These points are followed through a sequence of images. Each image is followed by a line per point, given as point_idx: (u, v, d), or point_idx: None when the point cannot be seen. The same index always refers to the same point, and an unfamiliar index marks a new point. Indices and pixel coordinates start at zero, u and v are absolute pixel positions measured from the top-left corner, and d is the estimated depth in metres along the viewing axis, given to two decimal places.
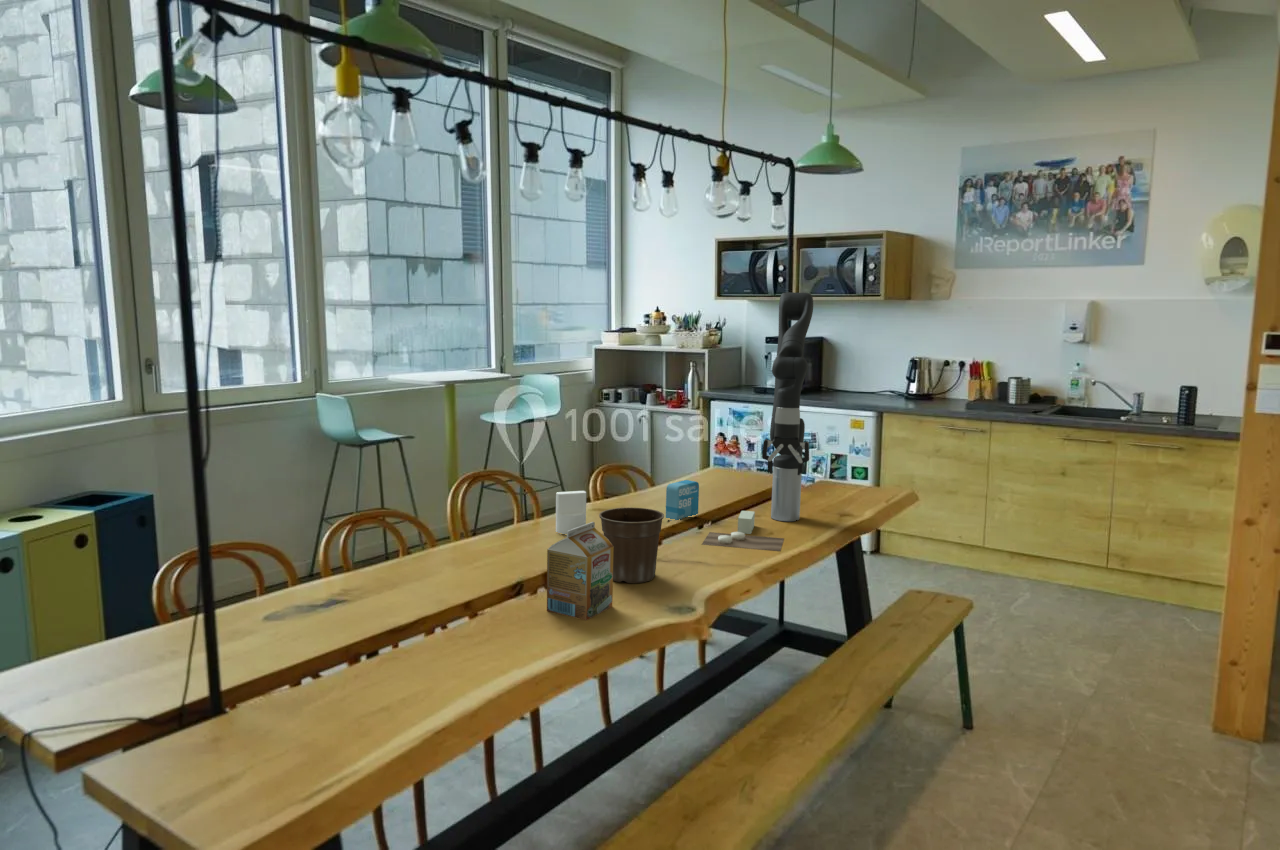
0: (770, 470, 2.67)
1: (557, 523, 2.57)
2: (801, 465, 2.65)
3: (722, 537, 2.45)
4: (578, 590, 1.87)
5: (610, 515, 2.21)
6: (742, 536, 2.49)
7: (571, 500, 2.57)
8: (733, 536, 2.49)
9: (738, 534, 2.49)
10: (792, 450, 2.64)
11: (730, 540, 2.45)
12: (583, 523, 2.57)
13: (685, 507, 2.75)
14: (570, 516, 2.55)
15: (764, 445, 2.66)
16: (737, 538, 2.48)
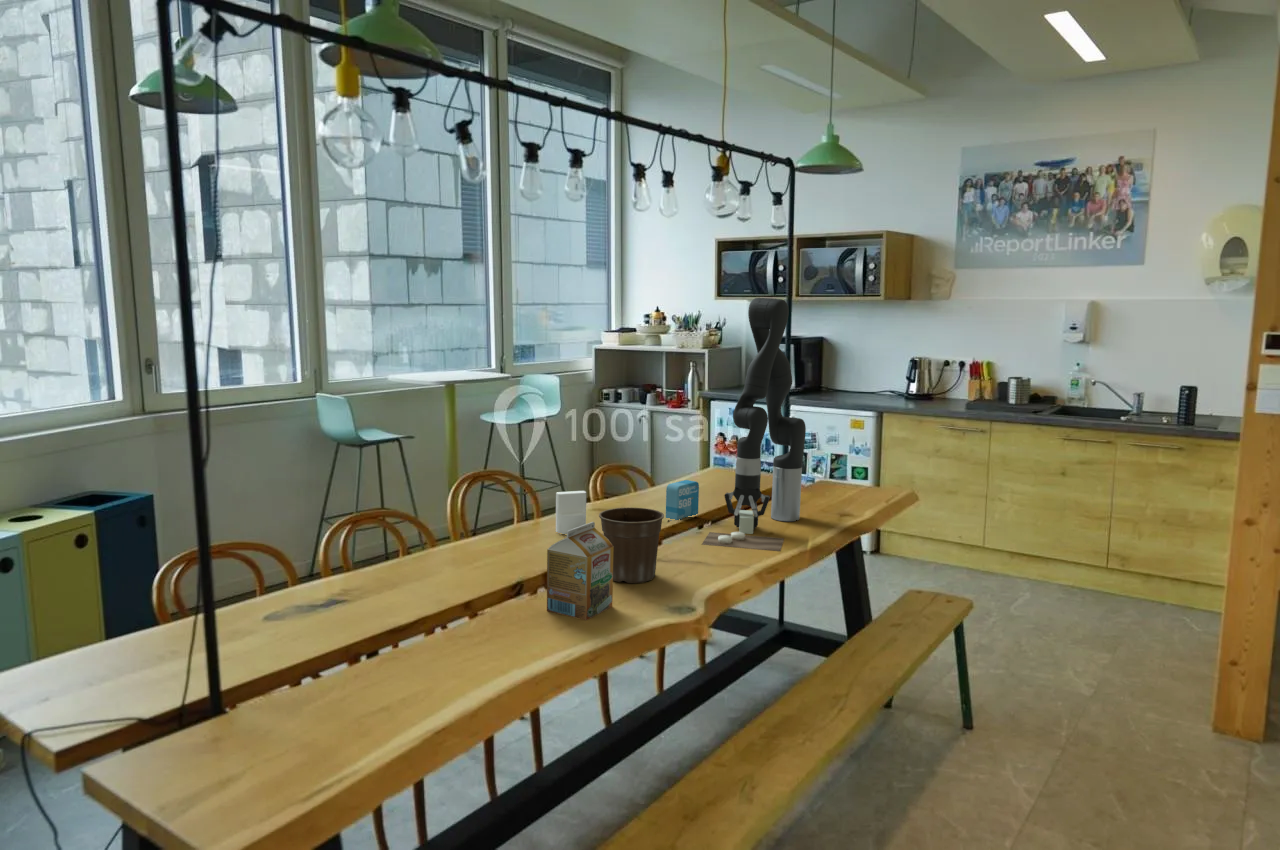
0: (737, 524, 2.60)
1: (557, 523, 2.57)
2: (756, 519, 2.59)
3: (722, 537, 2.45)
4: (578, 590, 1.87)
5: (610, 515, 2.21)
6: (742, 536, 2.49)
7: (571, 500, 2.57)
8: (733, 536, 2.49)
9: (738, 534, 2.49)
10: (751, 502, 2.58)
11: (730, 540, 2.45)
12: (583, 523, 2.57)
13: (685, 507, 2.75)
14: (570, 516, 2.55)
15: (726, 499, 2.60)
16: (737, 538, 2.48)
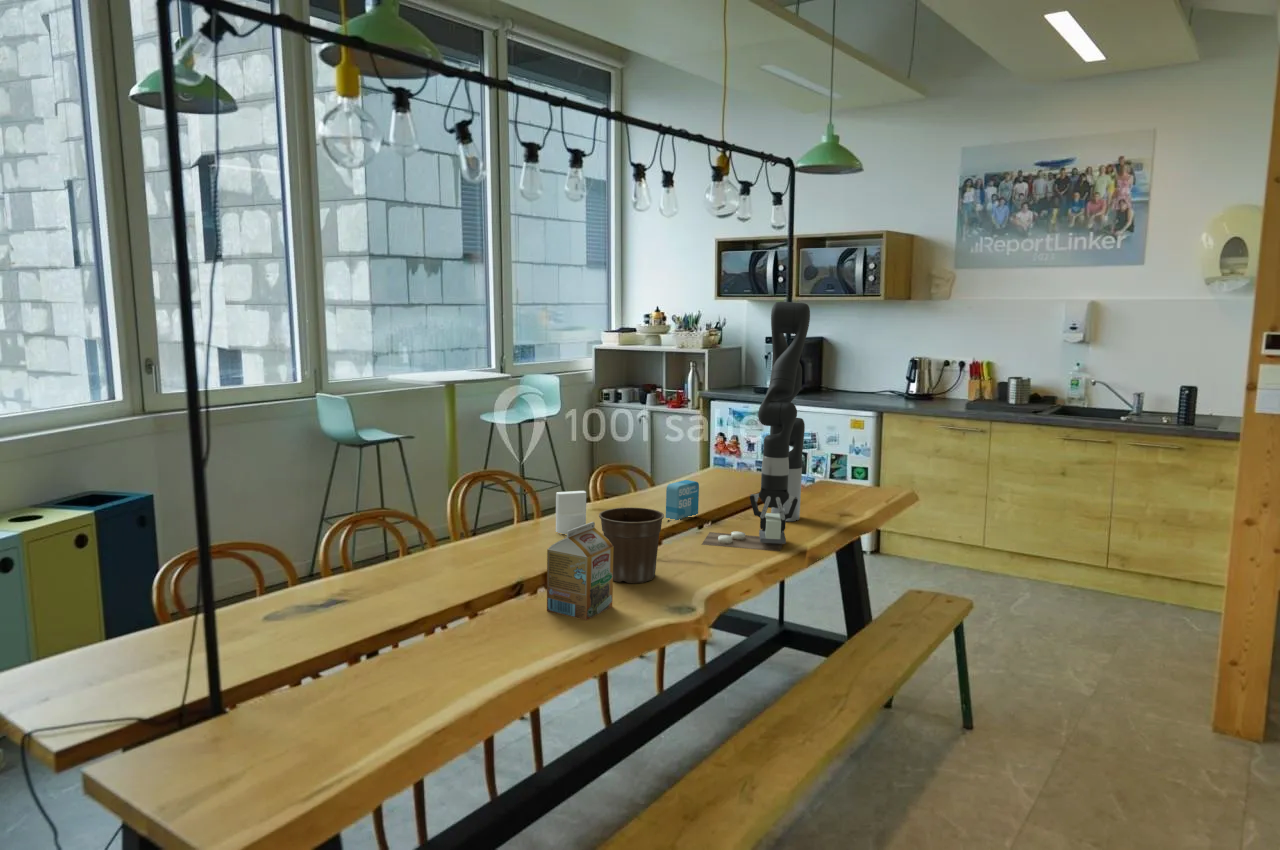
0: (763, 528, 2.44)
1: (557, 523, 2.57)
2: (784, 522, 2.43)
3: (722, 537, 2.45)
4: (578, 590, 1.87)
5: (610, 515, 2.21)
6: (744, 535, 2.49)
7: (571, 500, 2.57)
8: (736, 536, 2.48)
9: (740, 534, 2.49)
10: (778, 504, 2.42)
11: (730, 540, 2.45)
12: (583, 523, 2.57)
13: (685, 507, 2.75)
14: (570, 516, 2.55)
15: (752, 501, 2.44)
16: (740, 538, 2.48)
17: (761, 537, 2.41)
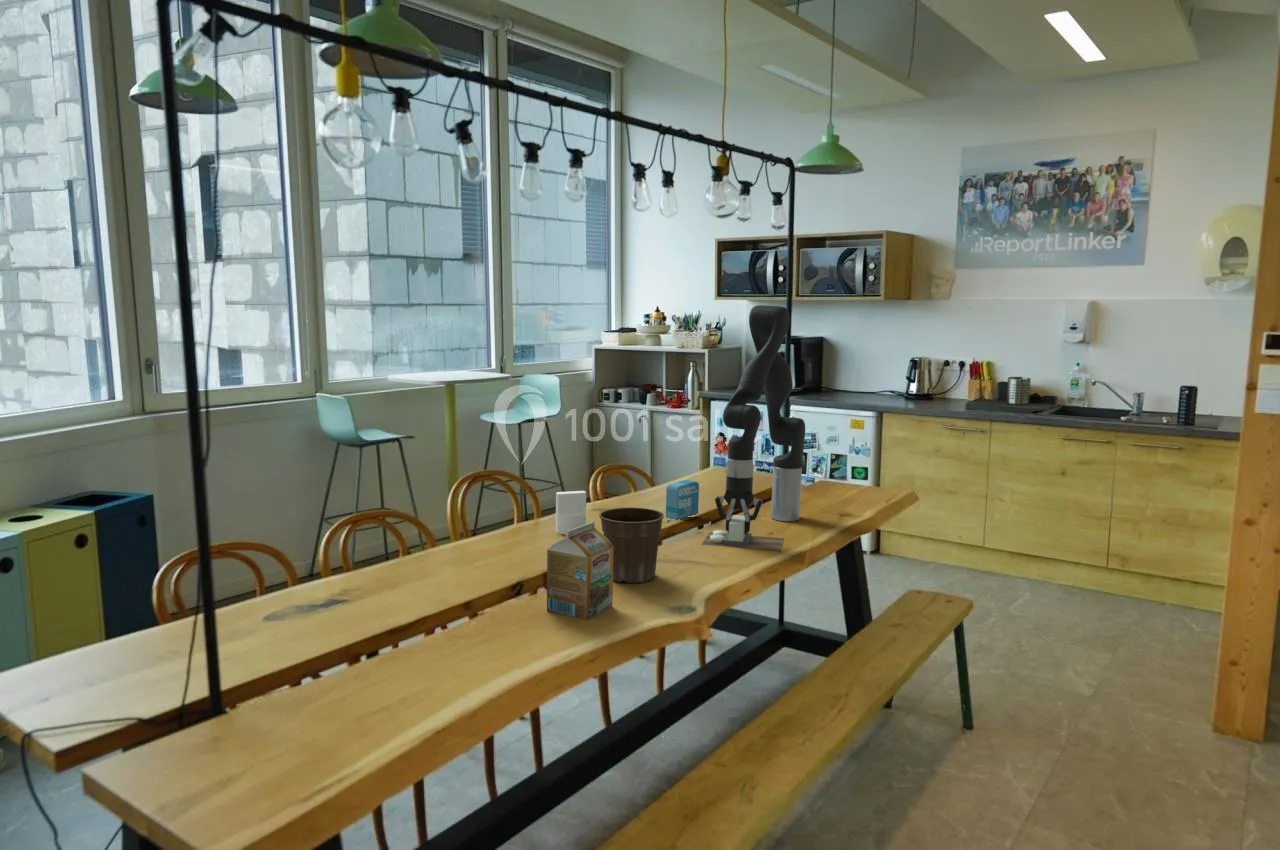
0: (728, 529, 2.47)
1: (557, 523, 2.57)
2: (748, 523, 2.46)
3: (714, 536, 2.46)
4: (578, 590, 1.87)
5: (610, 515, 2.21)
6: None
7: (571, 500, 2.57)
8: (723, 535, 2.50)
9: (723, 532, 2.51)
10: (743, 505, 2.44)
11: (722, 539, 2.45)
12: (583, 523, 2.57)
13: (685, 507, 2.75)
14: (570, 516, 2.55)
15: (717, 503, 2.46)
16: None
17: (724, 539, 2.44)
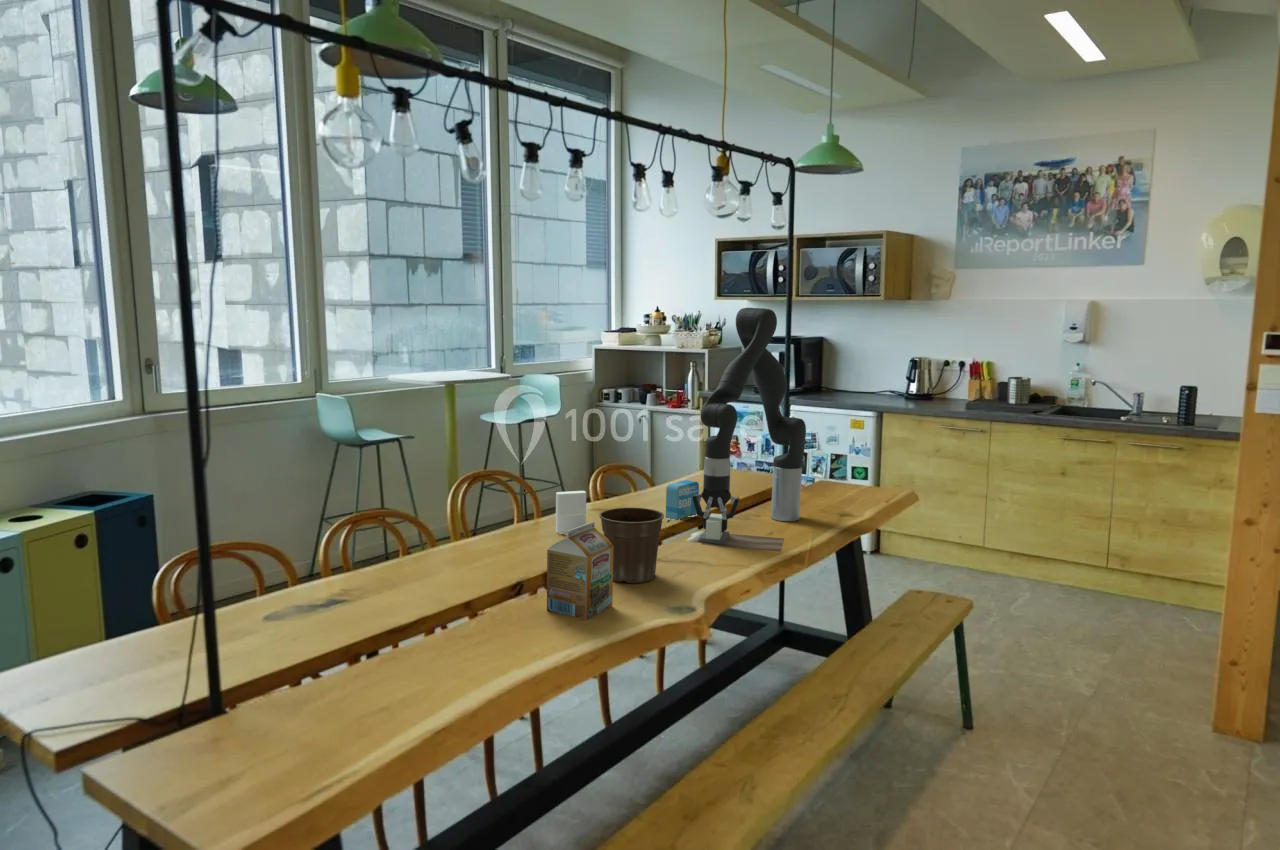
0: None
1: (557, 523, 2.57)
2: (725, 522, 2.47)
3: (690, 538, 2.47)
4: (578, 590, 1.87)
5: (610, 515, 2.21)
6: None
7: (571, 500, 2.57)
8: (700, 535, 2.51)
9: (700, 532, 2.53)
10: (720, 504, 2.46)
11: (698, 537, 2.46)
12: (583, 523, 2.57)
13: (685, 507, 2.75)
14: (570, 516, 2.55)
15: (694, 502, 2.48)
16: None
17: (702, 537, 2.46)
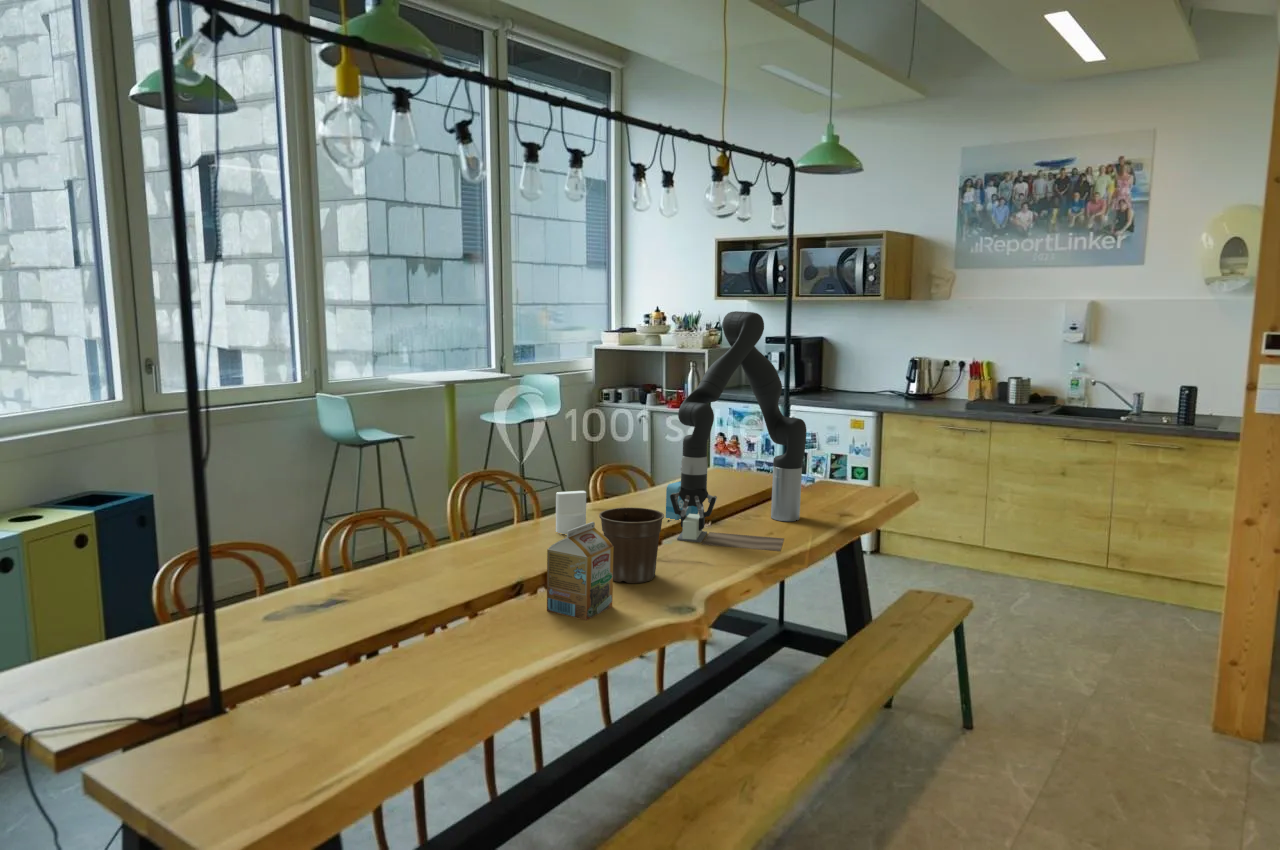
0: None
1: (557, 523, 2.57)
2: (702, 520, 2.49)
3: None
4: (578, 590, 1.87)
5: (610, 515, 2.21)
6: None
7: (571, 500, 2.57)
8: None
9: None
10: (697, 502, 2.47)
11: None
12: (583, 523, 2.57)
13: None
14: (570, 516, 2.55)
15: (672, 500, 2.50)
16: None
17: (678, 537, 2.48)
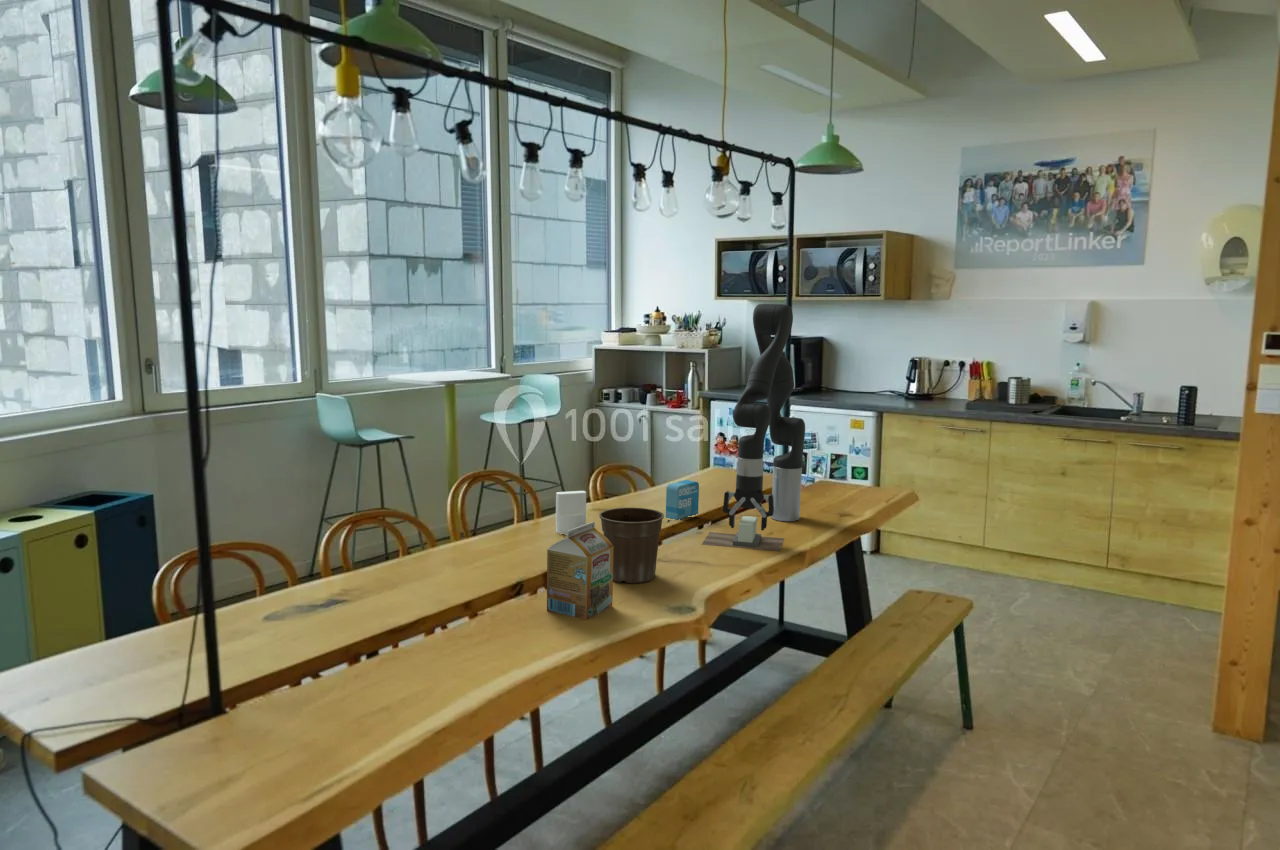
0: (732, 524, 2.46)
1: (557, 523, 2.57)
2: (765, 519, 2.44)
3: None
4: (578, 590, 1.87)
5: (610, 515, 2.21)
6: None
7: (571, 500, 2.57)
8: None
9: None
10: (755, 504, 2.44)
11: None
12: (583, 523, 2.57)
13: (685, 507, 2.75)
14: (570, 516, 2.55)
15: (725, 498, 2.46)
16: None
17: (734, 540, 2.44)
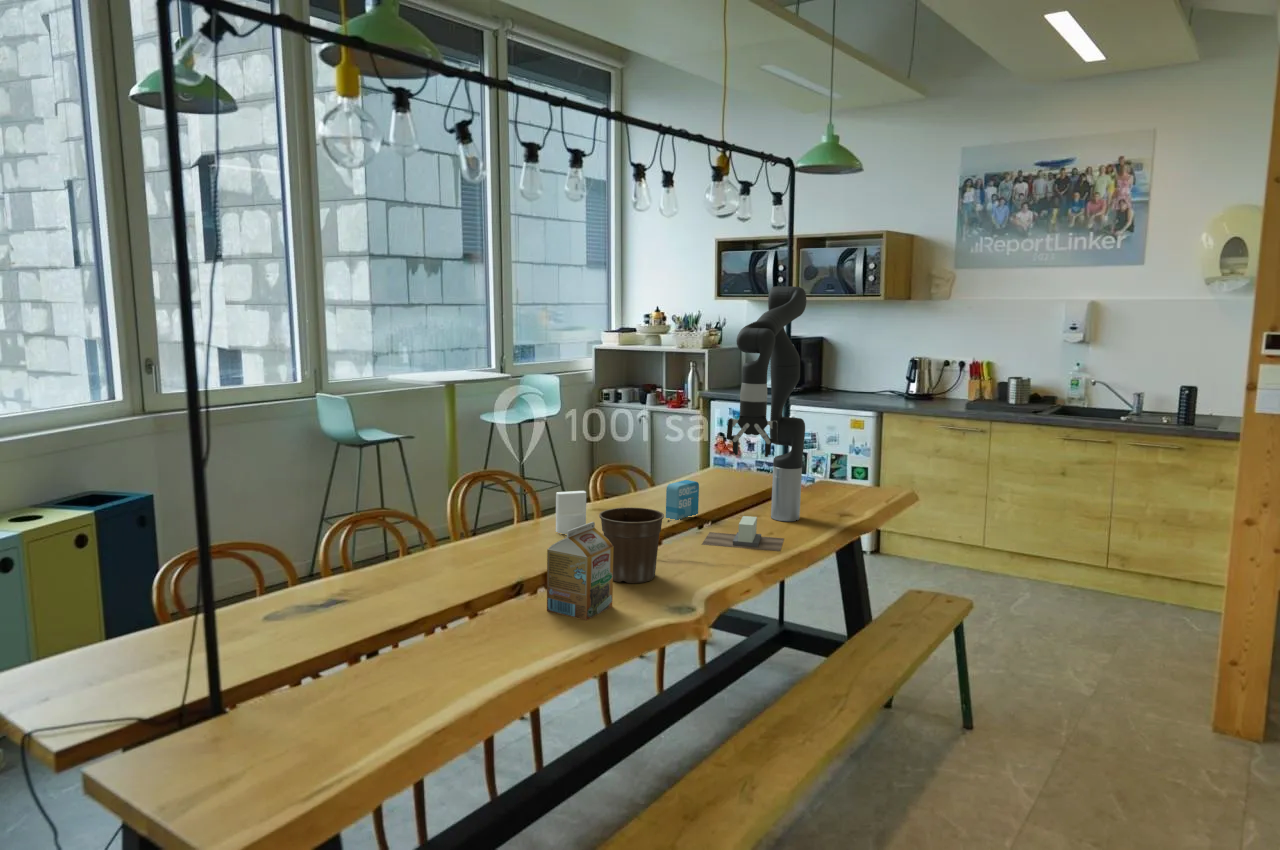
0: (735, 451, 2.46)
1: (557, 523, 2.57)
2: (769, 446, 2.44)
3: None
4: (578, 590, 1.87)
5: (610, 515, 2.21)
6: None
7: (571, 500, 2.57)
8: None
9: None
10: (759, 430, 2.43)
11: None
12: (583, 523, 2.57)
13: (685, 507, 2.75)
14: (570, 516, 2.55)
15: (729, 424, 2.45)
16: None
17: (734, 540, 2.44)
